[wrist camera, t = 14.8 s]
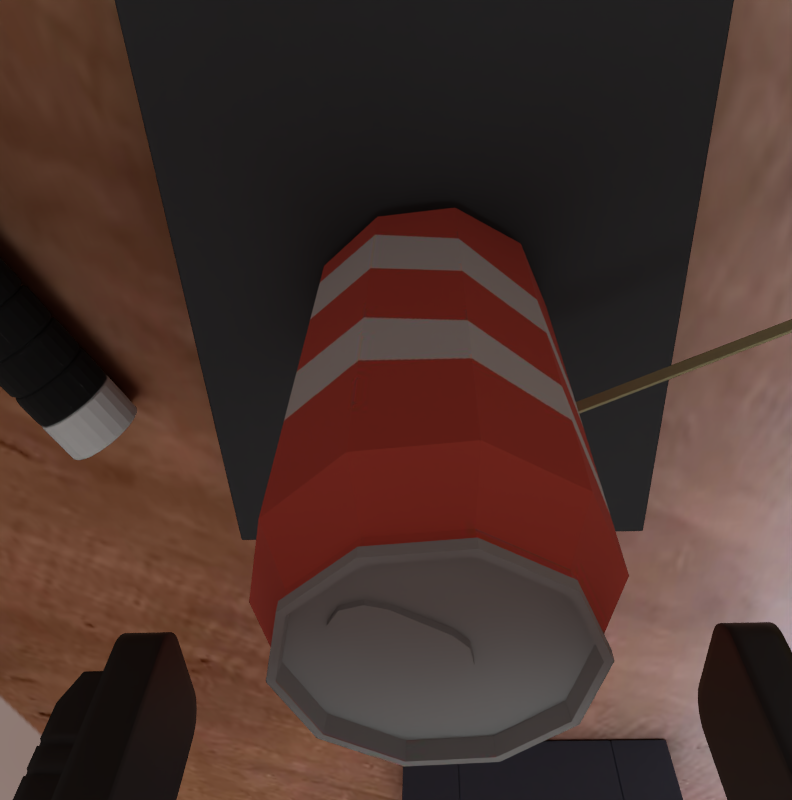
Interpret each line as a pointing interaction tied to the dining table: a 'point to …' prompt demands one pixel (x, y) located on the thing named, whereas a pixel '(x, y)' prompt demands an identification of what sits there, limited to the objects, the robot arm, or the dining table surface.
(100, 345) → the dining table surface
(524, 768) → the holder
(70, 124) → the dining table surface
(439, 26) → the mat
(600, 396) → the brown stick
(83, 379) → the black and white cylinder
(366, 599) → the beverage can
